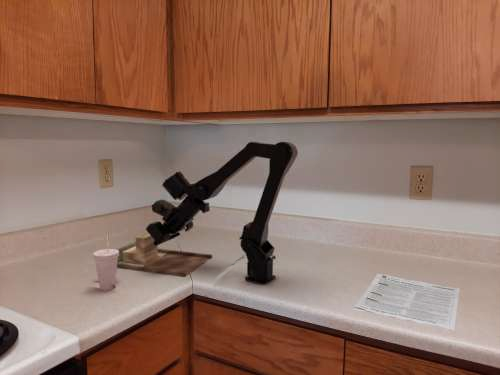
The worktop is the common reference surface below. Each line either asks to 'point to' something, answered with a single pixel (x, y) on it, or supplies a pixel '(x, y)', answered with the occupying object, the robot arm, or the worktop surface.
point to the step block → (141, 250)
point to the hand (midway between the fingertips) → (155, 244)
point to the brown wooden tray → (166, 262)
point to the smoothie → (106, 266)
